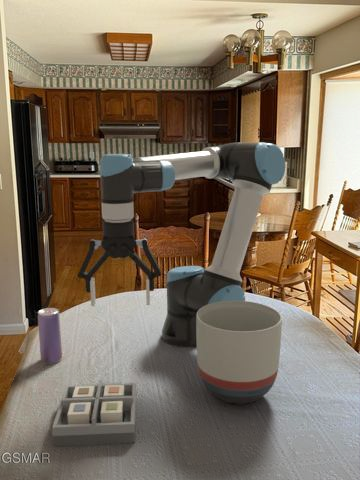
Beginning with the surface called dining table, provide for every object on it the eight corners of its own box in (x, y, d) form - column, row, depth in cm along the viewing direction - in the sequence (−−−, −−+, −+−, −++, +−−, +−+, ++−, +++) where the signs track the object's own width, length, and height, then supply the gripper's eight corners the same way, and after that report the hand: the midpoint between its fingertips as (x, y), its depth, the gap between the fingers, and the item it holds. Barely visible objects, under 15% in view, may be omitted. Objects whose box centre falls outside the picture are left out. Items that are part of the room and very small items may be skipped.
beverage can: (56, 365, 135) (53, 315, 132) (37, 363, 136) (33, 314, 133) (65, 356, 141) (62, 308, 138) (46, 354, 142) (43, 306, 139)
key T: (91, 415, 107) (91, 401, 106) (89, 427, 103) (88, 412, 102) (71, 415, 107) (70, 402, 106) (68, 427, 102) (67, 413, 102)
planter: (196, 374, 130) (196, 300, 125) (271, 375, 129) (274, 300, 124) (196, 418, 110) (196, 331, 105) (285, 419, 109) (289, 332, 105)
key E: (95, 398, 114) (94, 385, 113) (92, 408, 110) (92, 395, 109) (75, 398, 114) (75, 385, 113) (73, 409, 109) (72, 396, 109)
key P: (123, 413, 108) (122, 400, 107) (122, 425, 103) (121, 411, 102) (102, 414, 107) (102, 400, 107) (101, 426, 103) (100, 412, 102)
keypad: (136, 397, 118) (136, 376, 117) (134, 442, 101) (134, 418, 100) (67, 400, 117) (65, 379, 116) (53, 446, 100) (51, 421, 99)
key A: (124, 397, 114) (124, 384, 114) (123, 407, 110) (123, 394, 109) (105, 397, 114) (105, 384, 113) (103, 408, 110) (103, 394, 109)
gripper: (169, 216, 118) (170, 297, 123) (68, 217, 117) (72, 299, 122) (170, 221, 111) (171, 307, 116) (62, 223, 110) (67, 310, 114)
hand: (120, 303), depth 119 cm, fingers open, 13 cm apart
